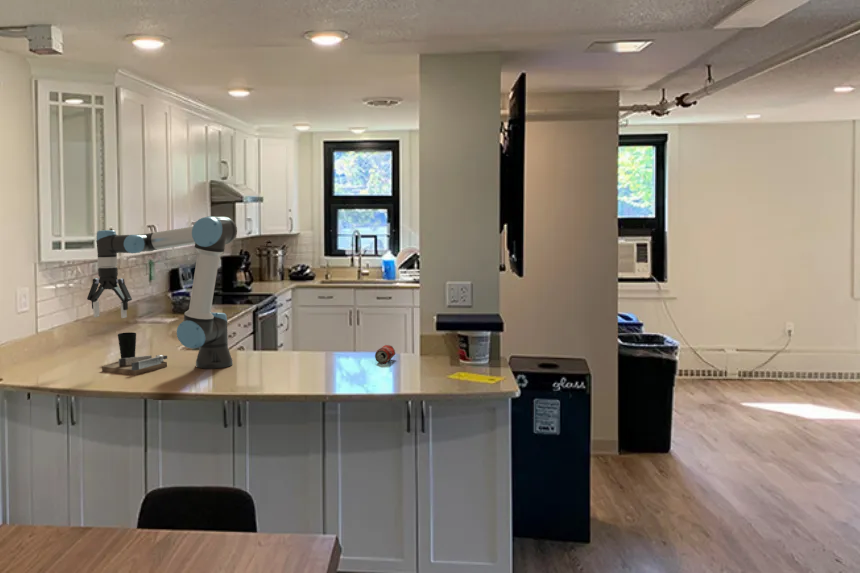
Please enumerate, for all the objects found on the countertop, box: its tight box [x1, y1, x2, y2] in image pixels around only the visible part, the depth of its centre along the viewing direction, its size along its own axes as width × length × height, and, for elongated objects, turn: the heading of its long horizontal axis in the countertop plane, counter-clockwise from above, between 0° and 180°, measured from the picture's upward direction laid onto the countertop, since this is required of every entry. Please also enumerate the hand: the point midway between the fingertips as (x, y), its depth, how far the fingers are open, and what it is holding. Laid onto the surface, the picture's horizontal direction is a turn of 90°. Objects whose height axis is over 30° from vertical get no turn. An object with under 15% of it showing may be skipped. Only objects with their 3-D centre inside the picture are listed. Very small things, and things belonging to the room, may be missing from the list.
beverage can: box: [374, 344, 396, 364], centre depth 332 cm, size 7×12×7 cm, turn 170°
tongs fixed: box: [132, 354, 168, 370], centre depth 315 cm, size 4×20×3 cm, turn 156°
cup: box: [117, 331, 137, 359], centre depth 336 cm, size 8×8×12 cm
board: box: [101, 361, 168, 376], centre depth 318 cm, size 18×18×2 cm
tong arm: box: [118, 354, 153, 366], centre depth 317 cm, size 1×13×3 cm, turn 126°
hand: (110, 317), depth 319 cm, fingers open, 13 cm apart
